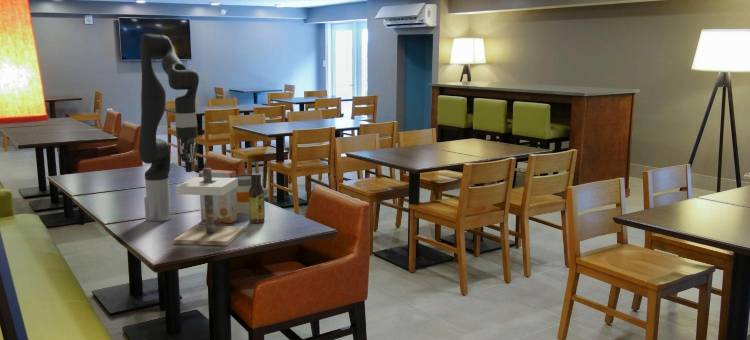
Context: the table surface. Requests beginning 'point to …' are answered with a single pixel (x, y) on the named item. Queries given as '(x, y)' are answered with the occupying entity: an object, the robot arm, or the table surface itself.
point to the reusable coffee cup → (243, 193)
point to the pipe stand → (209, 225)
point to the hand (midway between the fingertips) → (189, 171)
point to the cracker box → (222, 200)
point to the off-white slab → (207, 186)
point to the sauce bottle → (256, 200)
